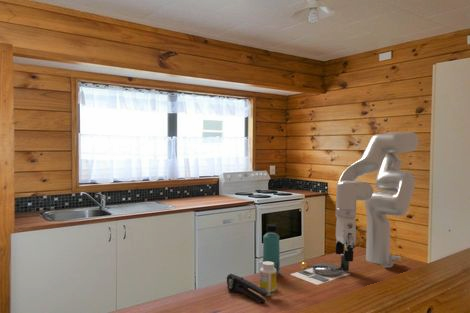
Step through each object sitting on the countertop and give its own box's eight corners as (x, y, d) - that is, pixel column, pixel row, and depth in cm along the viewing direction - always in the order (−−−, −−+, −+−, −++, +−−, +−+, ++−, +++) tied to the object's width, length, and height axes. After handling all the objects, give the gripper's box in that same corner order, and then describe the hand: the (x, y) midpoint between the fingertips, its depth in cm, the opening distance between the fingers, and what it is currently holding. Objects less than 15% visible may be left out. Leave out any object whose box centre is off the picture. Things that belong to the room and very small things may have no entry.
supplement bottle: (275, 290, 120) (275, 260, 120) (276, 296, 115) (277, 265, 115) (259, 289, 120) (259, 260, 120) (260, 296, 115) (260, 265, 115)
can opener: (221, 289, 120) (221, 273, 120) (236, 285, 125) (236, 269, 125) (257, 307, 107) (257, 289, 107) (272, 301, 112) (273, 284, 111)
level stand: (323, 268, 144) (323, 263, 144) (350, 277, 134) (350, 272, 134) (289, 278, 132) (289, 273, 132) (316, 289, 122) (317, 283, 122)
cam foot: (343, 266, 141) (344, 250, 141) (354, 276, 130) (354, 258, 130) (297, 266, 141) (298, 249, 141) (304, 276, 130) (304, 258, 130)
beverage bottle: (278, 280, 129) (279, 227, 129) (261, 279, 131) (262, 225, 131) (280, 274, 136) (281, 223, 136) (263, 273, 137) (264, 222, 137)
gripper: (364, 217, 127) (362, 264, 127) (347, 210, 144) (345, 251, 144) (344, 216, 127) (342, 263, 127) (329, 209, 144) (327, 251, 144)
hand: (343, 257), depth 135 cm, fingers open, 9 cm apart
